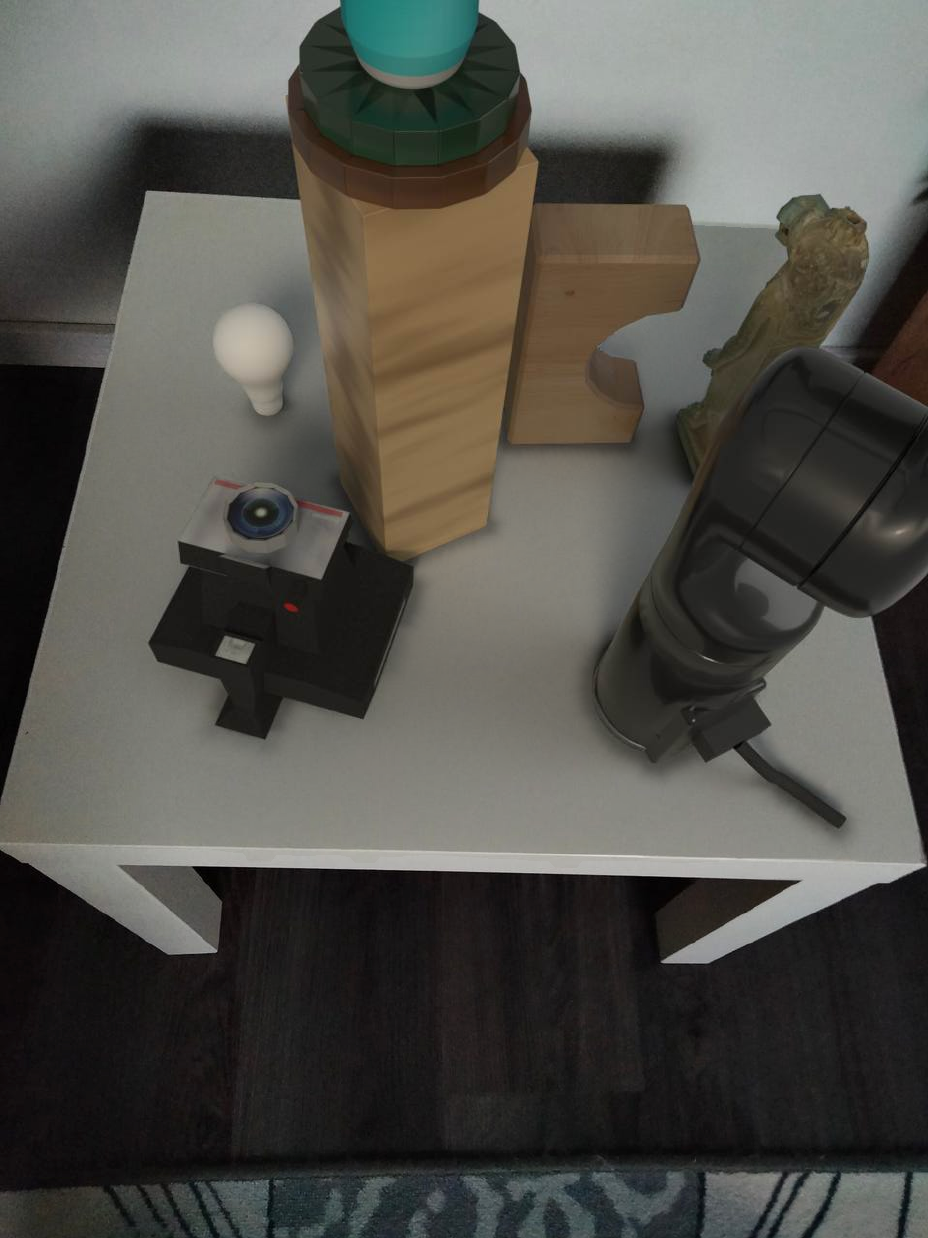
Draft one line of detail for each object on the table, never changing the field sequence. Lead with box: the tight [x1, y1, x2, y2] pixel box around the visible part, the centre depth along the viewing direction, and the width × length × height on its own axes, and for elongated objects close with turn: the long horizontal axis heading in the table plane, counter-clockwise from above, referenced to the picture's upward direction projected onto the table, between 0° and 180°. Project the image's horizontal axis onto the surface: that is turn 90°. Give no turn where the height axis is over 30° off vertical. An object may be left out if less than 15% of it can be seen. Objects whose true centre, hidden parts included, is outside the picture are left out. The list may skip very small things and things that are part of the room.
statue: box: [676, 193, 870, 478], centre depth 62 cm, size 7×8×25 cm
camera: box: [147, 475, 414, 740], centre depth 58 cm, size 16×14×15 cm
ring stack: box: [285, 6, 539, 562], centre depth 53 cm, size 11×11×36 cm
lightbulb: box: [212, 302, 294, 417], centre depth 68 cm, size 6×6×11 cm
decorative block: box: [503, 202, 702, 445], centre depth 65 cm, size 11×6×20 cm, turn 92°
